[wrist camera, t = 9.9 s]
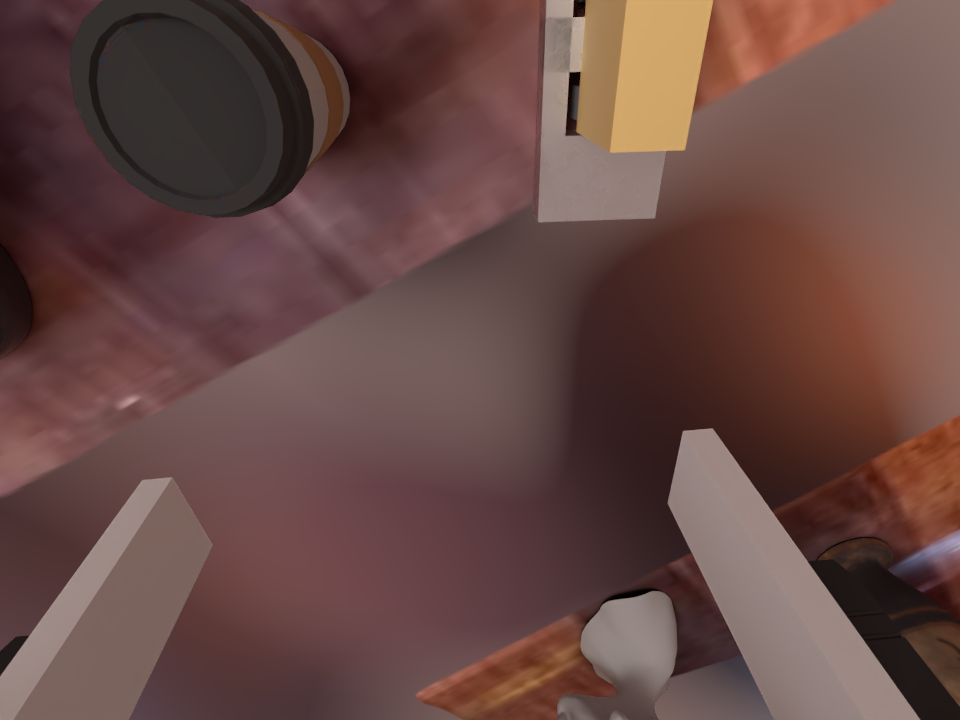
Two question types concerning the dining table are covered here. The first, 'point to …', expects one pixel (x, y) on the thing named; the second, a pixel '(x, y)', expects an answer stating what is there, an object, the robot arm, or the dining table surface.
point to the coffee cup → (206, 101)
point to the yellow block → (639, 72)
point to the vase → (905, 608)
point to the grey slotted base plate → (581, 141)
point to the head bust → (627, 658)
